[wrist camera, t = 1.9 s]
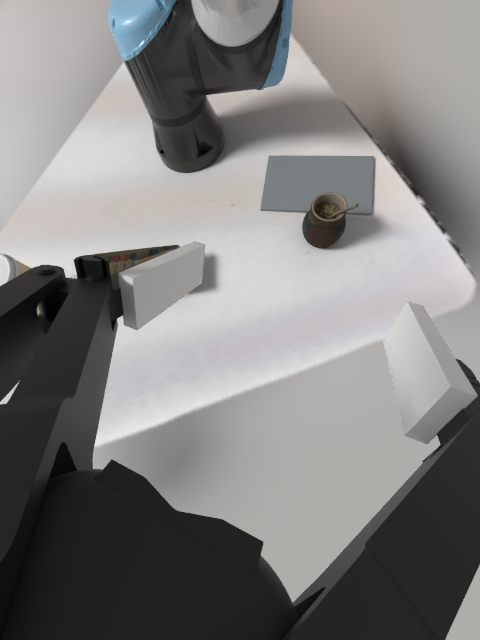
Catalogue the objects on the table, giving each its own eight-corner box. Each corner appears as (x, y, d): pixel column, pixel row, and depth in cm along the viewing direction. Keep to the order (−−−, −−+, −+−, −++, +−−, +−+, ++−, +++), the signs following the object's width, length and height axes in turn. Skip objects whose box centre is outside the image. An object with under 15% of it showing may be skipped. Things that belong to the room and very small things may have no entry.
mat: (269, 157, 52) (269, 155, 51) (372, 158, 48) (373, 156, 48) (260, 210, 49) (260, 208, 48) (370, 215, 45) (371, 213, 45)
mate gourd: (305, 215, 47) (313, 172, 38) (346, 222, 46) (365, 180, 36) (295, 247, 46) (301, 212, 36) (337, 256, 44) (354, 221, 35)
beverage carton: (190, 296, 46) (176, 282, 40) (97, 306, 49) (71, 294, 42) (190, 258, 49) (177, 240, 42) (101, 269, 51) (76, 253, 44)
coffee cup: (23, 315, 50) (-52, 295, 39) (45, 275, 52) (-20, 244, 40) (58, 330, 48) (-10, 313, 37) (80, 287, 50) (22, 259, 39)
